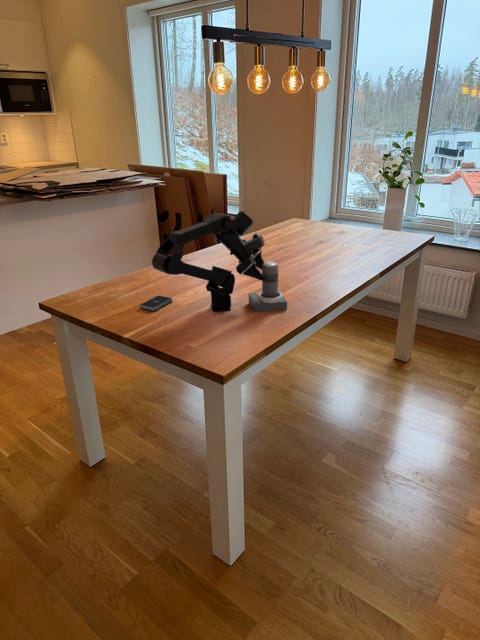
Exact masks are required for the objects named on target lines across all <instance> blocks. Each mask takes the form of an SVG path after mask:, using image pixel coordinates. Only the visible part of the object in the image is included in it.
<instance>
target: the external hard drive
mask: <svg viewBox="0 0 480 640" xmlns="http://www.w3.org/2000/svg"><path fill="white" fill-rule="evenodd" d="M172 303H173V298H172V297H169V296H163V295H160V294H159V295H156V296H153V297H152V298H150V299H148V300H146V301H144V302H141V303H140V304H139V309H140V310H142V309H143V311H146V310H147V312H150V313H151V312H152V313H155V312H157V311H159V310H161V309H162V308H164V307H167V306H168V305H170V304H172Z"/></svg>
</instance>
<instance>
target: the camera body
mask: <svg viewBox="0 0 480 640" xmlns="http://www.w3.org/2000/svg"><path fill="white" fill-rule="evenodd" d="M283 295H284V294H283V293H282V292H281V291H279V290H278V297H276V298H265V297H262V291H259V292H258V294H257V292H249V293H248V305H250V306H249V307H250V308H251V309H252V312H253V313H262V312H263V313H265V312H276V311H287V310H288V308H287V307H288V301H287V299H286V298H285V296H283Z"/></svg>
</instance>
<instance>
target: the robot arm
mask: <svg viewBox="0 0 480 640" xmlns="http://www.w3.org/2000/svg"><path fill="white" fill-rule="evenodd" d="M253 225H254V221H253V219H252V218H251V217H250V216H248V215H247V214H246V213H245V211H242V210H239V212H238V213H237V214H236V216H234V218H232V217H231V216H230V215H229V214H223V213H219V212H214V213H212V214H210V215H209V216H207V217H206V218H205V219H204V220H203V221H202V222H198V223H196V224H193V225H190V226H188V227H185V228H182V229H179V230H175V231H171V232H170V233H169V234H168V236H167V238H166V240H164V242H163V243H161V244H160V246H158V248H157V250H156V252H155V254H154V255H153V256H152V260H151V265H152V267H153V269H154V270H156V271H158V272H162V273H164V274H167V275H174V276H175V275H186V276H190V277H194V278H197V279H200V280H201V279H202V280H205V281H207V284H206V285H205V289H206V291H207V292H209V293H210V301H211V302H210V308H211V312H213V313H215V312H216V313H217V312H226V311H227V312H228V311H231V307H232V296H231V295H232V294H233V291H234V287H235V285H236V284H235V282H236V276H235V274H234V273H232V272H233V271H232V270H228V269H226V268H223V267H218V266H215V265H212V267H211V269H208V268H204V267H200V266H197V265H194V264H190V263H187V262H184V261H183V260H182V259H183V254H184V253H183V252H184V247H185V245H186V244H188V243H191V242H194V241H196V240H199V239H201V238H204V237H206V236H209V235H212V234H215V235H213V244H214V245H217V244H218V243H219V242H220V243H221V244H222V245H223V246H224V247H225V248H226V249H227V250H228V251H230V253H229V254H230V256H234V257H235V258H236V259H237V260H238V264H237V266H236V267H235V270H236V272H237V273H238V274H239V275H243V276H244V275H245V276H248V277H250V278H254V279H256V280H259V281H261V282H262V281H264V280H265V278H264V277H263V275H262V272H261V271H262V264H264V263H266V262H265V261H264V258H263V257H262V255H263V250H262V248H263V247H264V246H265V245H266V243H265V240H264V236H262V234H260V233H257V232H256V233H253V235H252V238H251V239H249V240H247V239H245V238H243V239H242V238H241V237H243V236H244V235H245V234H246V233H247V232H248V231H249V229H250V228H251V227H252V226H253ZM172 249H173V251H172V254H168V253H169V252H170V251H171V250H172ZM259 269H260V270H259Z"/></svg>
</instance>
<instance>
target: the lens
mask: <svg viewBox="0 0 480 640" xmlns="http://www.w3.org/2000/svg"><path fill="white" fill-rule="evenodd" d="M261 274H262V275H263V277H264V278H265V280H264V281H261V282H262V283H261V287H262V288H261V292H262V297H265V298H276V297H278V291H279V264H278V263H277V262H273V261H266V262H265V263H264V264H262V270H261Z"/></svg>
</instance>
